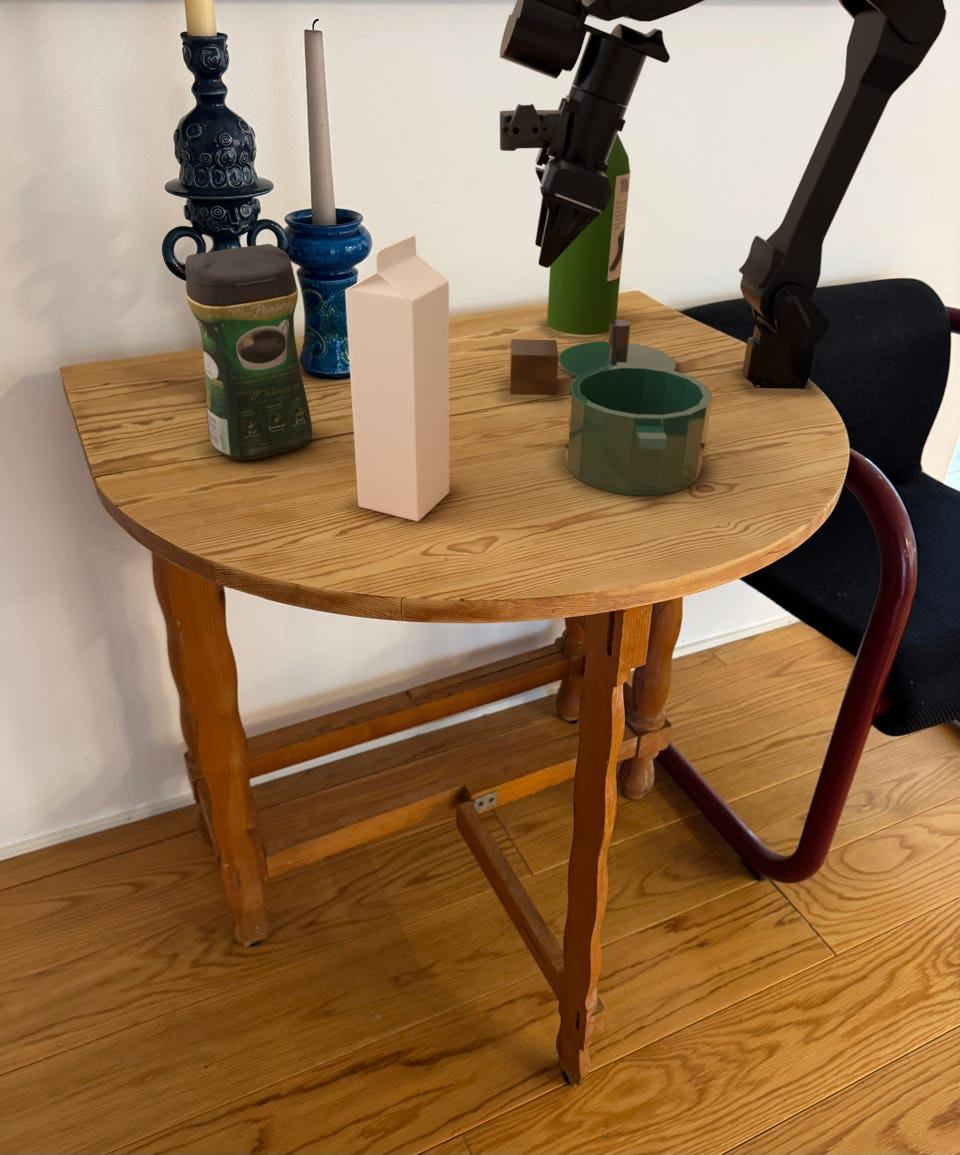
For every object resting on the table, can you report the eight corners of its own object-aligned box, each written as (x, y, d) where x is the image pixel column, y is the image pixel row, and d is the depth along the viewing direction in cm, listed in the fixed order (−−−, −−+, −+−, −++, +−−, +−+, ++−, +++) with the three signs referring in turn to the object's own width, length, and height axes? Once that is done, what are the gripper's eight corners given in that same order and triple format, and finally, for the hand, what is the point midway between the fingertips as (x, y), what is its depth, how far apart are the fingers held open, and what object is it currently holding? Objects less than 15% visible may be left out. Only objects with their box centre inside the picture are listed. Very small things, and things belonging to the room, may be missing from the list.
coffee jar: (290, 418, 98) (271, 232, 88) (323, 447, 92) (307, 252, 82) (199, 439, 93) (168, 245, 83) (228, 470, 88) (198, 267, 78)
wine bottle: (611, 342, 119) (638, 46, 101) (541, 335, 121) (555, 43, 103) (619, 320, 127) (645, 40, 109) (553, 314, 128) (568, 38, 110)
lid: (665, 351, 117) (671, 305, 114) (683, 393, 105) (690, 344, 102) (554, 348, 117) (557, 303, 114) (560, 390, 105) (564, 341, 102)
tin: (683, 426, 98) (693, 356, 94) (716, 511, 83) (730, 432, 78) (560, 424, 98) (565, 354, 94) (572, 508, 83) (578, 429, 79)
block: (553, 382, 107) (556, 339, 105) (555, 400, 103) (558, 355, 100) (509, 382, 107) (511, 339, 105) (510, 399, 103) (511, 354, 101)
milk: (358, 507, 82) (338, 247, 70) (392, 479, 87) (380, 229, 75) (419, 523, 80) (410, 256, 68) (451, 492, 85) (448, 238, 73)
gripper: (518, 60, 97) (469, 212, 105) (522, 71, 81) (464, 249, 89) (618, 100, 99) (563, 246, 107) (642, 117, 83) (575, 288, 91)
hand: (541, 255), depth 98 cm, fingers open, 9 cm apart
